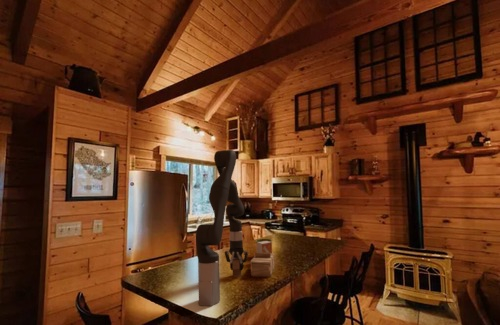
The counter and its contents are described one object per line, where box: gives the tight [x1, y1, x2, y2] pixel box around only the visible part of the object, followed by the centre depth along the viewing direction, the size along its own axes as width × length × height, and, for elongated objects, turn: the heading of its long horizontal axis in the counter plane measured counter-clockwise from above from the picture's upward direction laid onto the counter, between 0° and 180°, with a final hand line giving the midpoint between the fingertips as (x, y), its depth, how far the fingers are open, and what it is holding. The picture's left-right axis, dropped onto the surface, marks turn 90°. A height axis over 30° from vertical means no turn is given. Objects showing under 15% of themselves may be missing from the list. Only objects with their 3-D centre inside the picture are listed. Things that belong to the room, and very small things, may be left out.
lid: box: [250, 251, 275, 264], centre depth 153 cm, size 18×11×4 cm, turn 167°
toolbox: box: [250, 256, 276, 278], centre depth 152 cm, size 18×11×7 cm, turn 167°
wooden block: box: [232, 257, 242, 278], centre depth 147 cm, size 4×4×10 cm
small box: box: [256, 241, 273, 254], centre depth 172 cm, size 8×6×13 cm
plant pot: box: [255, 238, 273, 244], centre depth 187 cm, size 12×12×11 cm
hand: (237, 269), depth 147 cm, fingers open, 4 cm apart
